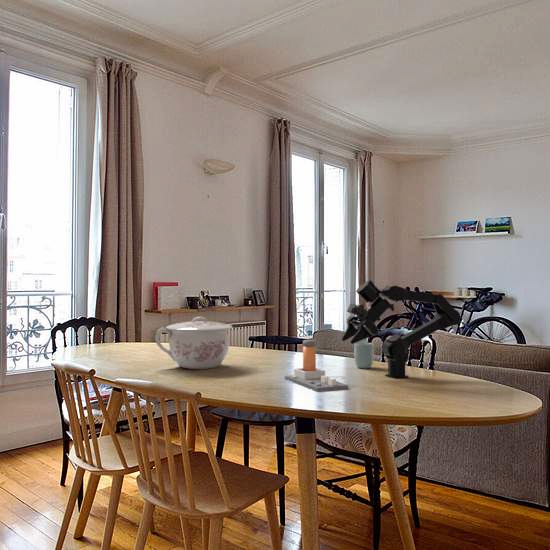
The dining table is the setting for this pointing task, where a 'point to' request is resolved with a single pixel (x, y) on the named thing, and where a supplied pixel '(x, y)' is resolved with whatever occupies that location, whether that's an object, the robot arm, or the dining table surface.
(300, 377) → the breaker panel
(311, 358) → the capped spray can
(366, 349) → the cup
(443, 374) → the dining table surface
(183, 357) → the chamber pot
